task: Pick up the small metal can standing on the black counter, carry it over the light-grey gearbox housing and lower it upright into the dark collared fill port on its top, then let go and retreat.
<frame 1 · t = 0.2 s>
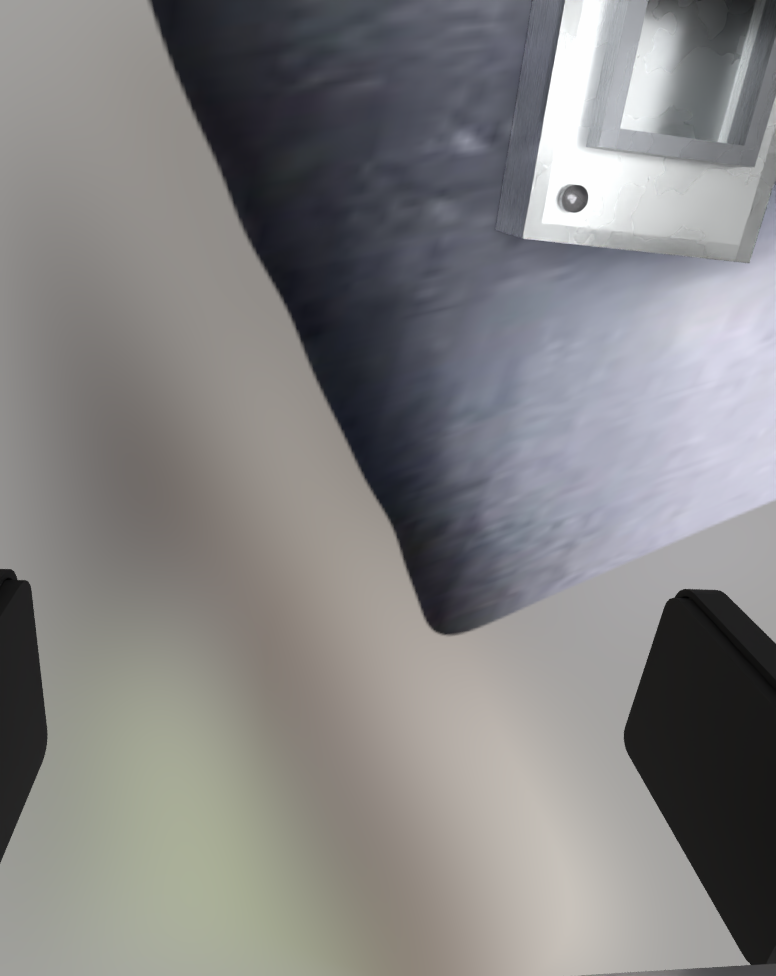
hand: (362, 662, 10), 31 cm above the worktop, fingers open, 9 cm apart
gearbox housing: (635, 76, 35), on the worktop
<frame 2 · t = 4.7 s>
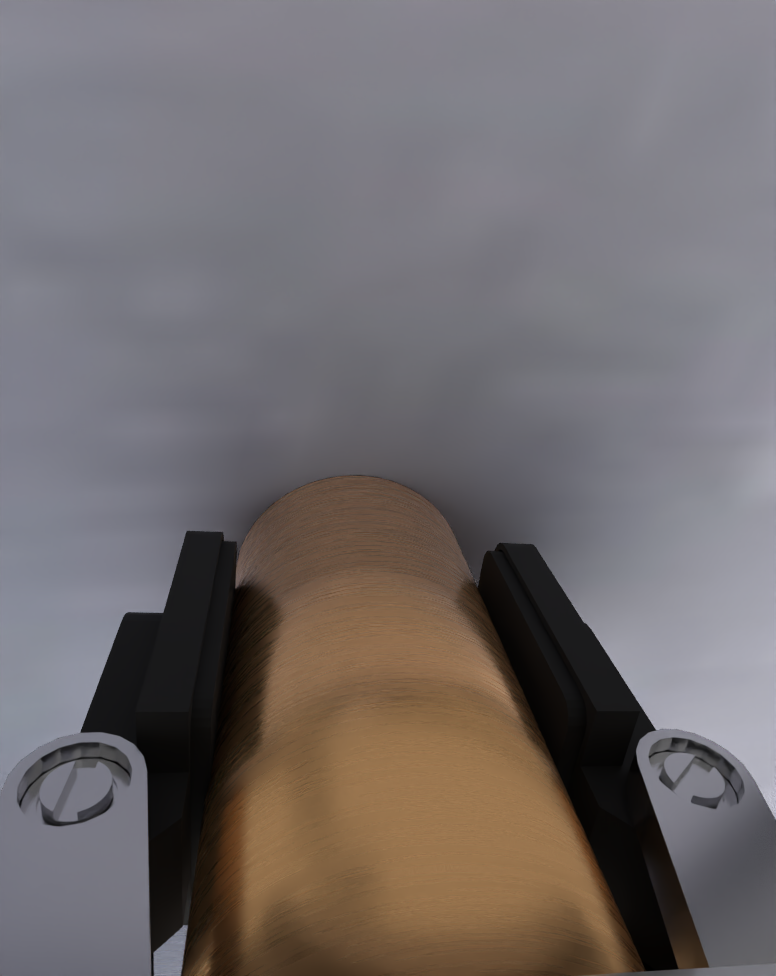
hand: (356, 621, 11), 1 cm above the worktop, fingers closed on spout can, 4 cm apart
spout can: (350, 578, 12), on the worktop, touching gripper
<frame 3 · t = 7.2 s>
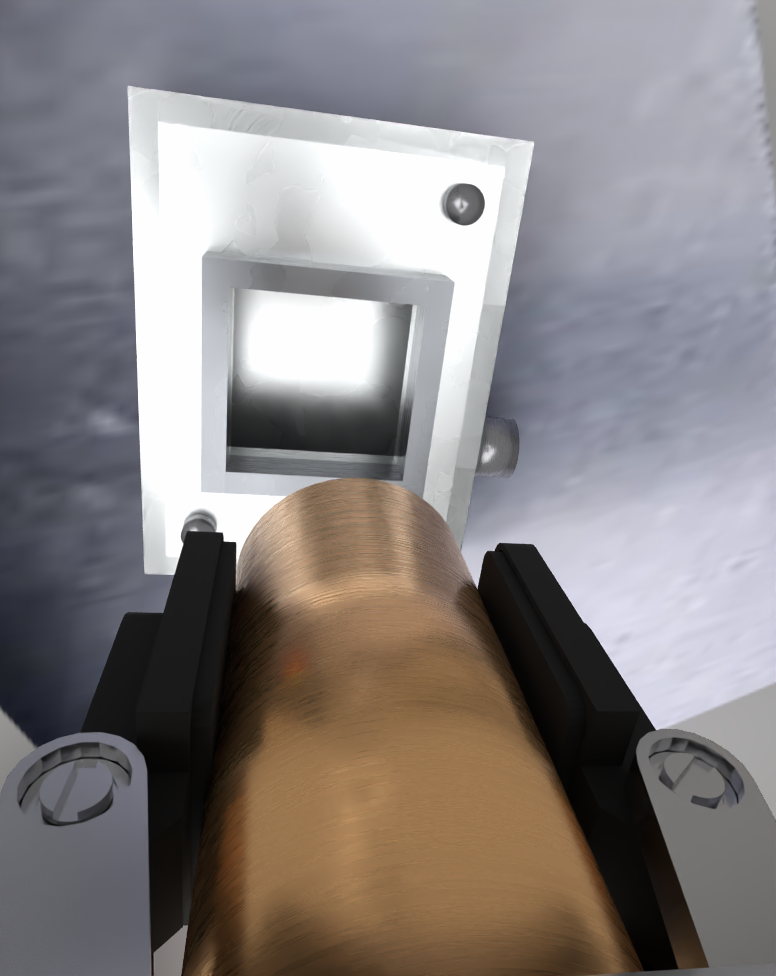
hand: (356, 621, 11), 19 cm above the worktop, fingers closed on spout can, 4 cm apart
spout can: (350, 580, 12), point 18 cm above the worktop, touching gripper
gearbox housing: (315, 344, 28), on the worktop
when the fingers open (8 cm above the worktop, at t = 9.9 s): spout can drops 6 cm, resting on gearbox housing.
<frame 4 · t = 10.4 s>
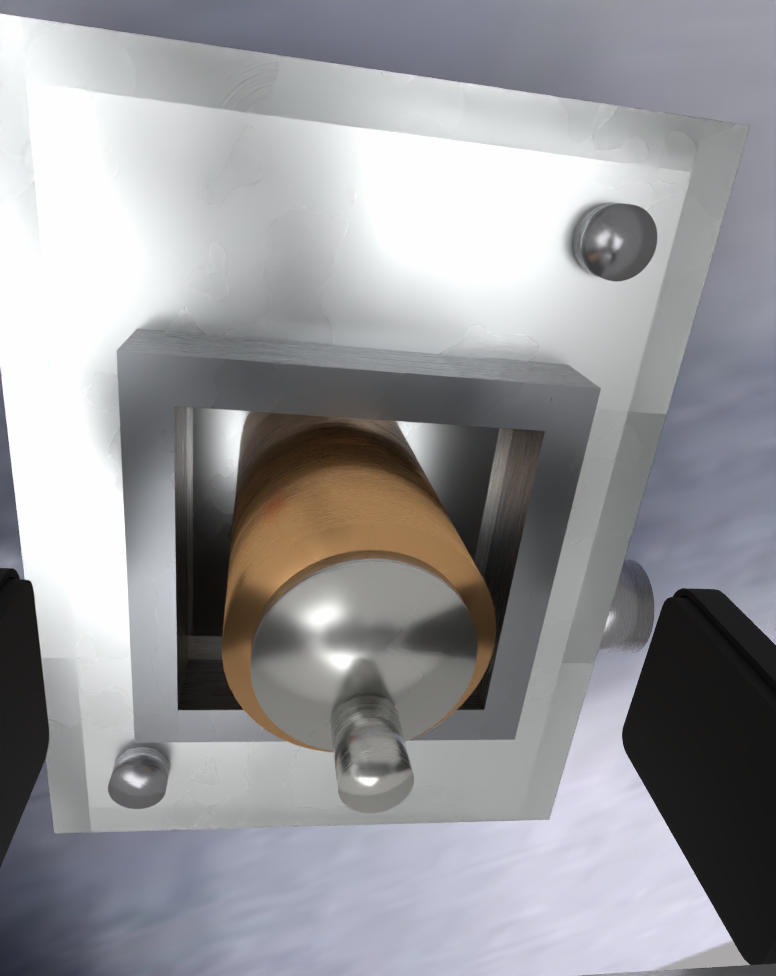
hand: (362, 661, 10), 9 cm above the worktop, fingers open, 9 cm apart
spout can: (321, 452, 17), point 1 cm above the worktop, touching gearbox housing
gearbox housing: (331, 446, 18), on the worktop
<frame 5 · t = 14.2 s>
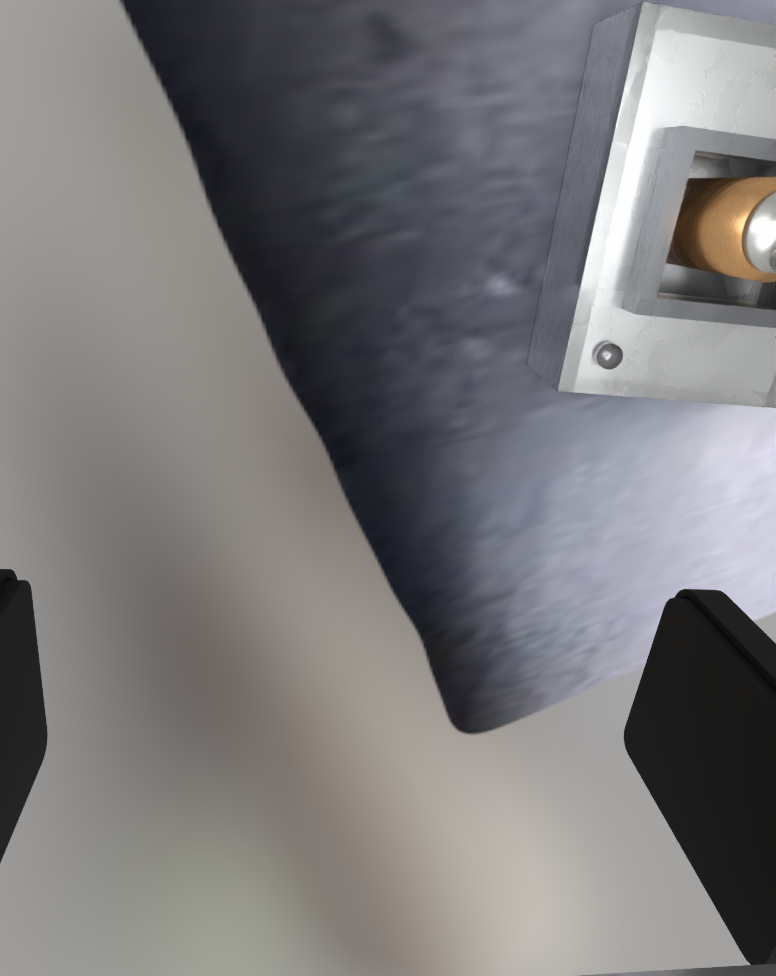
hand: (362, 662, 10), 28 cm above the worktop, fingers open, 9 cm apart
spout can: (670, 220, 35), point 1 cm above the worktop, touching gearbox housing
gearbox housing: (666, 223, 36), on the worktop
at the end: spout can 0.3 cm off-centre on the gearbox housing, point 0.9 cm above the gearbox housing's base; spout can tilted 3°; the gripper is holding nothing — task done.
